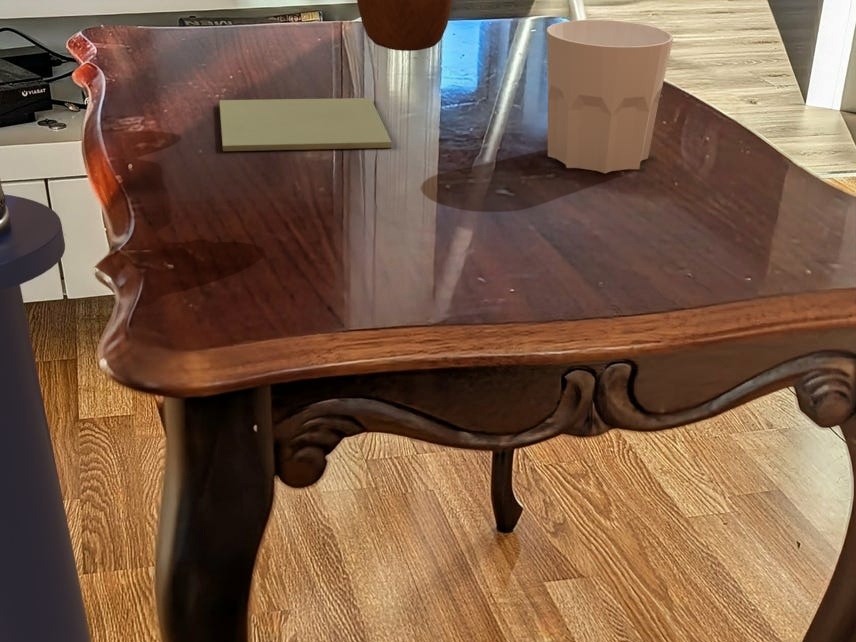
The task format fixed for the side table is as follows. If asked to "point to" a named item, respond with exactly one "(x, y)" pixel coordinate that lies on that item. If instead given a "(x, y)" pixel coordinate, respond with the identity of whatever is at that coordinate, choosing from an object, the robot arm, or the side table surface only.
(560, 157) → the cup
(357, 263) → the side table surface
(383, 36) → the wooden figurine
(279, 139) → the mat
